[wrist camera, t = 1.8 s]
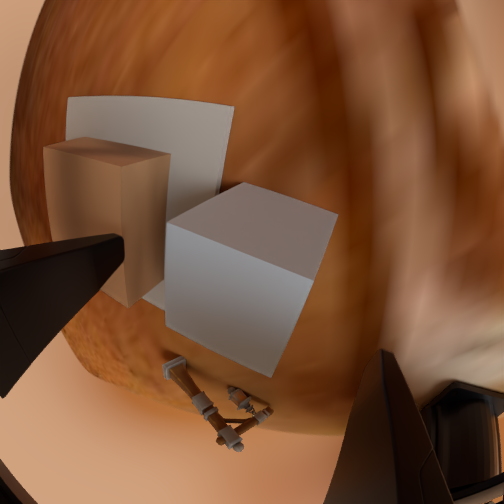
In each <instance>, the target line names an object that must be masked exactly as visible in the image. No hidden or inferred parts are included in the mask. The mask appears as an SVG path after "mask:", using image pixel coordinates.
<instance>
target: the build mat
mask: <svg viewBox="0 0 504 504" xmlns="http://www.w3.org/2000/svg"><path fill="white" fill-rule="evenodd" d="M234 108H235V107H234V106H228V105H222V104H215V103H208V102H201V101H192V100H183V99H173V98H161V97H144V96H80V97H68V103H67V117H66V141H68V140H72V139H76V138H81V137H90V138H96V139H102V140H107V141H113V142H118V143H123V144H128V145H133V146H138V147H143V148H147V149H152V150H156V151H161V152H165V153H169V154H171V160H170V170H169V180H168V193H167V207H166V224H165V249H164V280H163V281H161V282H160V283H159V284H158V285H156V286H155V287H154V288H153V289H151V290H150V291H149V292H148V293H147V294H145V295H144V296H143V297H142V298H143V299H144V300H146V301H148V302H150V303H151V304H153V305H155V306H157V307H158V308H160V309H162V310H164V311H165V253H166V228H167V222H168V221H170V220H171V219H173V218H175V217H177V216H179V215H181V214H183V213H184V212H186V211H188V210H190V209H192V208H194V207H196V206H198V205H199V204H201V203H203V202H205V201H207V200H209V199H211V198H213V197H215V196H217V195H219V192H220V186H221V180H222V174H223V168H224V162H225V156H226V150H227V145H228V139H229V134H230V129H231V123H232V118H233V113H234Z"/></svg>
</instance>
